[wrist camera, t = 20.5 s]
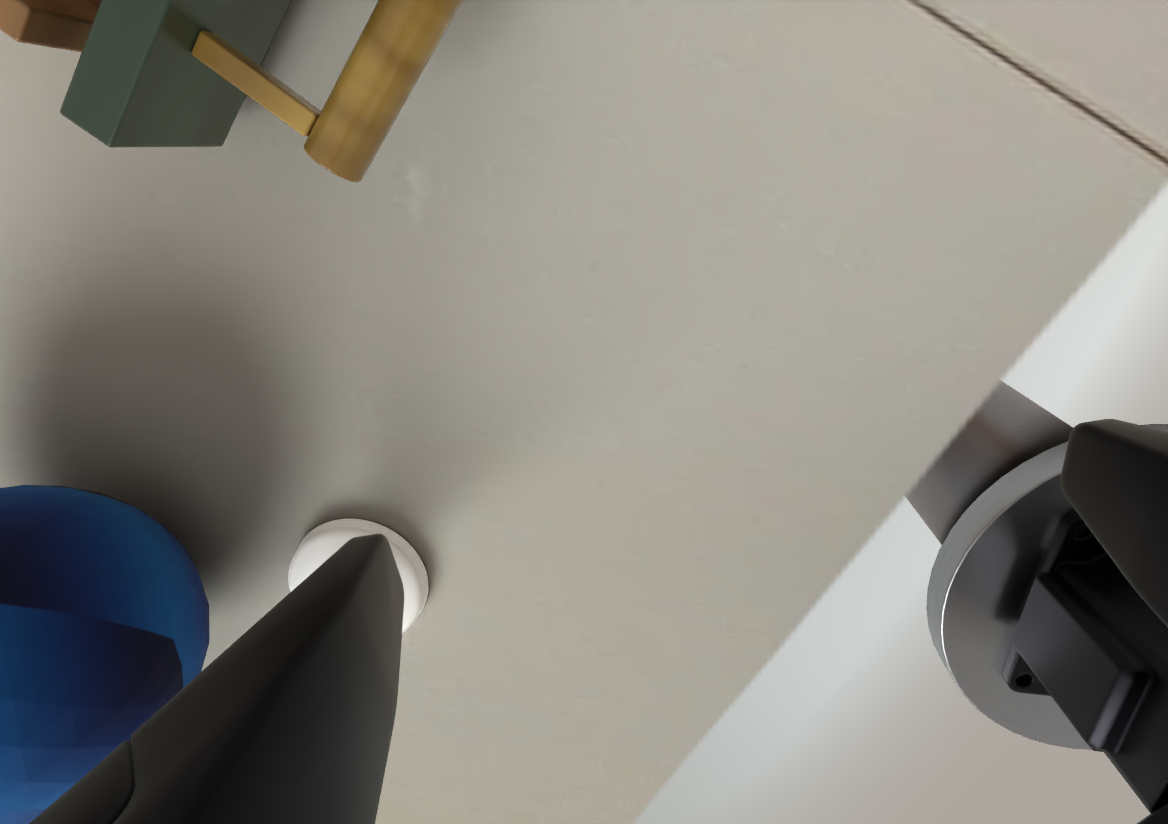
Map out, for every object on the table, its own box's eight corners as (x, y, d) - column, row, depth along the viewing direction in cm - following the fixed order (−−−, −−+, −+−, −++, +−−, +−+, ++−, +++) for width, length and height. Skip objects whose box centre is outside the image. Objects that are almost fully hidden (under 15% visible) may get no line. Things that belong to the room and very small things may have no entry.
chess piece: (431, 638, 25) (312, 923, 16) (302, 627, 26) (111, 901, 16) (425, 523, 24) (287, 769, 14) (286, 512, 24) (62, 748, 15)
